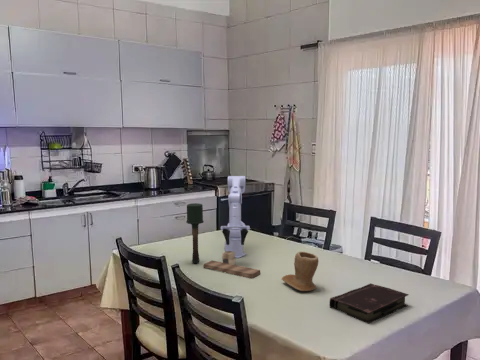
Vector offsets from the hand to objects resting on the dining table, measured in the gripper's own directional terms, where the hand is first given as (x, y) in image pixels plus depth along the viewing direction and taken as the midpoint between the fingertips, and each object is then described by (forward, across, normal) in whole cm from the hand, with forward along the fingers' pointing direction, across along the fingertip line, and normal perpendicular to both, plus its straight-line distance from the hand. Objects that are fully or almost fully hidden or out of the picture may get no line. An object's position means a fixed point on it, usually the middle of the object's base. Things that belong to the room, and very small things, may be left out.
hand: (235, 244), depth 213 cm
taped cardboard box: (+10, -4, +3) cm, 11 cm away
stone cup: (+18, +35, -14) cm, 42 cm away
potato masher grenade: (+9, -21, +1) cm, 23 cm away
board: (+12, 0, -5) cm, 13 cm away
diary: (+24, +64, -26) cm, 72 cm away
